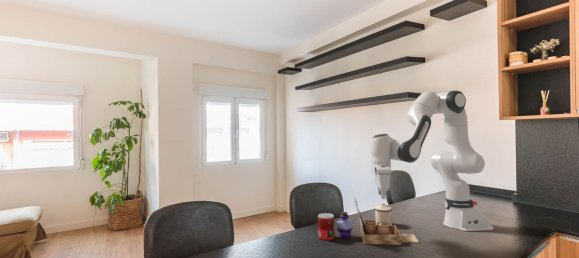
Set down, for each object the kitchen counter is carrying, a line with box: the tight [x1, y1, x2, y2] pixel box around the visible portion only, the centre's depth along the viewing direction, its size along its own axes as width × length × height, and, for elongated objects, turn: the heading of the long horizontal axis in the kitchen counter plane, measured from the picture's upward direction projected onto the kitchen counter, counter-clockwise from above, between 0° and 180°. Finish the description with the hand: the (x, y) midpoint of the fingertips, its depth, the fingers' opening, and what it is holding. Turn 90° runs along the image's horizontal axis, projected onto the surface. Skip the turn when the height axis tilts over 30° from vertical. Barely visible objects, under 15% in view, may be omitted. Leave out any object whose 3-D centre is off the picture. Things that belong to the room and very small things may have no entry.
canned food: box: [317, 212, 336, 241], centre depth 141 cm, size 8×8×11 cm
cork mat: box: [400, 233, 420, 244], centre depth 137 cm, size 7×10×1 cm
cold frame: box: [352, 193, 403, 246], centre depth 139 cm, size 20×15×20 cm
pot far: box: [363, 218, 376, 235], centre depth 143 cm, size 6×6×7 cm
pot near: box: [377, 222, 389, 235], centre depth 138 cm, size 6×6×7 cm
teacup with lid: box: [374, 202, 393, 225], centre depth 160 cm, size 12×9×12 cm
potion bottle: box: [335, 211, 354, 240], centre depth 142 cm, size 9×9×12 cm
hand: (381, 196), depth 139 cm, fingers open, 8 cm apart
